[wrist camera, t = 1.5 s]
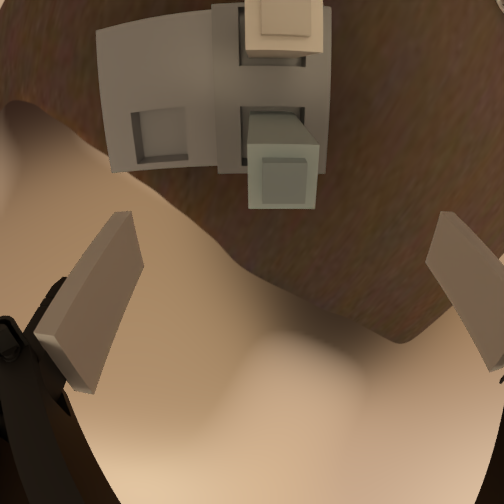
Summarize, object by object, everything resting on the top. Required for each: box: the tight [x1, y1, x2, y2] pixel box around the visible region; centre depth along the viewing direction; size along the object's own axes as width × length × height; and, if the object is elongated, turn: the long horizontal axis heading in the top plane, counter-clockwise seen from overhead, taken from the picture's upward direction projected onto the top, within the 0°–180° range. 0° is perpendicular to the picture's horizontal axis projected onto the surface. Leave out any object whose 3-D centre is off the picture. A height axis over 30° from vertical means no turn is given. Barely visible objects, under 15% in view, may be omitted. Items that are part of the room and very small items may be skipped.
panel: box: [96, 3, 331, 174], centre depth 26 cm, size 16×22×6 cm
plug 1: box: [245, 0, 323, 59], centre depth 17 cm, size 4×4×14 cm
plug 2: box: [247, 111, 320, 209], centre depth 22 cm, size 4×4×14 cm
